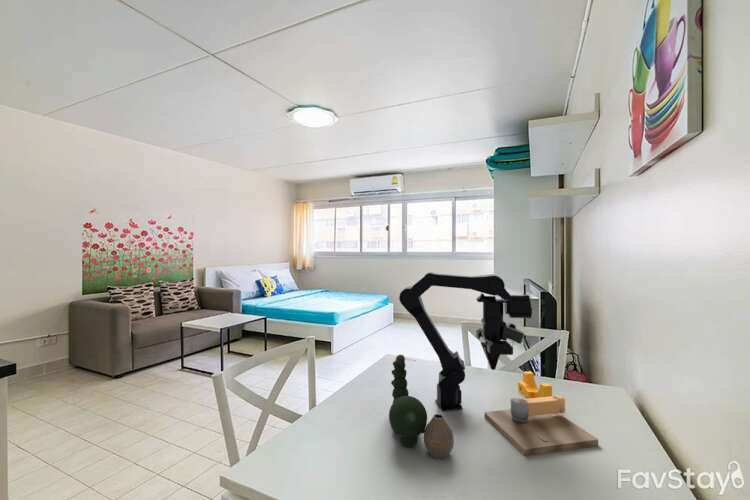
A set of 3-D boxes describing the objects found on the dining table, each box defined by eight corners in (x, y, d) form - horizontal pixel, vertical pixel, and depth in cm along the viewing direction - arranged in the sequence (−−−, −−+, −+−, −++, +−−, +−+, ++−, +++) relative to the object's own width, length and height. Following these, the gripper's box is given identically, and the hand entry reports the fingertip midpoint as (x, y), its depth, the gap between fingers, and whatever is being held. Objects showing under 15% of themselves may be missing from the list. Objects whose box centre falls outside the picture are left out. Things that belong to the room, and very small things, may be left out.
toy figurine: (383, 416, 99) (392, 461, 75) (382, 351, 101) (391, 374, 76) (415, 415, 100) (434, 460, 75) (413, 350, 102) (432, 373, 77)
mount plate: (524, 455, 77) (524, 444, 77) (484, 417, 95) (484, 407, 95) (598, 445, 81) (598, 434, 81) (546, 410, 99) (546, 401, 99)
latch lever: (517, 419, 88) (517, 406, 88) (507, 411, 92) (507, 398, 92) (569, 413, 91) (569, 400, 91) (557, 406, 95) (557, 393, 95)
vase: (455, 447, 81) (455, 411, 81) (452, 465, 74) (451, 426, 74) (426, 442, 83) (426, 407, 83) (421, 459, 76) (421, 421, 76)
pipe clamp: (518, 390, 113) (518, 371, 113) (530, 390, 113) (530, 371, 113) (538, 407, 101) (538, 386, 101) (552, 407, 101) (551, 385, 101)
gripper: (533, 324, 90) (532, 382, 90) (511, 311, 108) (511, 359, 108) (490, 323, 91) (490, 381, 91) (475, 311, 109) (475, 358, 109)
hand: (493, 369), depth 100 cm, fingers closed
